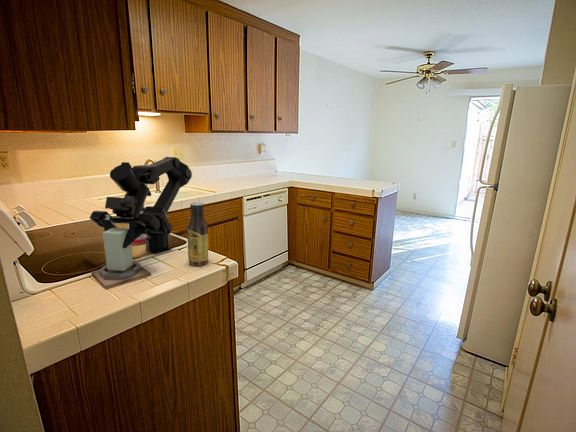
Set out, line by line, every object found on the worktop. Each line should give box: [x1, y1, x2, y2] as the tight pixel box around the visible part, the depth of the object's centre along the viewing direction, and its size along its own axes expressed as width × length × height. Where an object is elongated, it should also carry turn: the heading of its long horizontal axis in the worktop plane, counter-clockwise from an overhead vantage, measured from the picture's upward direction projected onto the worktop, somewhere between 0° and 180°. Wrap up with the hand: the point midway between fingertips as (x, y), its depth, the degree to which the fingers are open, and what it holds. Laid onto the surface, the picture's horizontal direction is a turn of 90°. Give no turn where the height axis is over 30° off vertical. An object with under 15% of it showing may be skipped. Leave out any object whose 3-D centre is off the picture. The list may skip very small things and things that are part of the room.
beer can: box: [126, 204, 147, 246], centre depth 115 cm, size 6×6×16 cm
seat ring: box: [98, 260, 142, 280], centre depth 90 cm, size 10×10×2 cm
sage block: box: [102, 227, 134, 271], centre depth 89 cm, size 4×5×11 cm
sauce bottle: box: [186, 201, 209, 267], centre depth 98 cm, size 6×6×20 cm
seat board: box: [91, 265, 152, 290], centre depth 91 cm, size 12×12×1 cm
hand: (114, 247), depth 87 cm, fingers closed on sage block, 5 cm apart
